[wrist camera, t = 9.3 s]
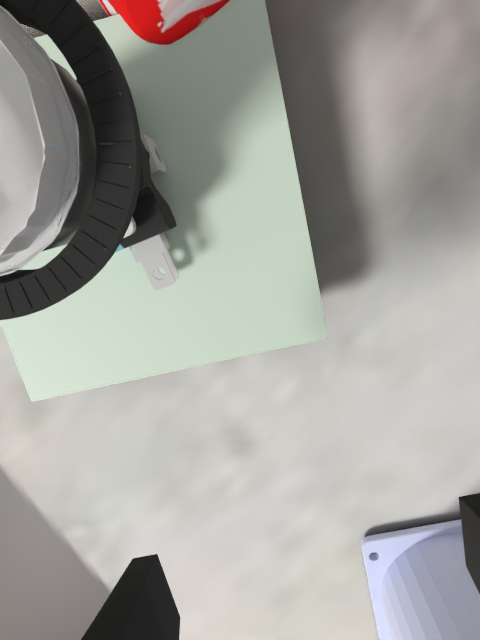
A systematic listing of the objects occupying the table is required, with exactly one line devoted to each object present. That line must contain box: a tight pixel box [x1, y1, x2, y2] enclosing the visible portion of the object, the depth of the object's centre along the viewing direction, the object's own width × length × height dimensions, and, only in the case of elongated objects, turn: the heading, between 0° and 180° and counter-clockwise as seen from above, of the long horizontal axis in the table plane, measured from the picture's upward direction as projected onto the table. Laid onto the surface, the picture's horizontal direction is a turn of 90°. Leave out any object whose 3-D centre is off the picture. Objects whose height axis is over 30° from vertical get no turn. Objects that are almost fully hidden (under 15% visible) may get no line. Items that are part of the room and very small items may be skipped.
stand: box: [0, 0, 328, 402], centre depth 17 cm, size 12×12×3 cm
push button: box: [0, 0, 179, 320], centre depth 10 cm, size 7×5×10 cm
